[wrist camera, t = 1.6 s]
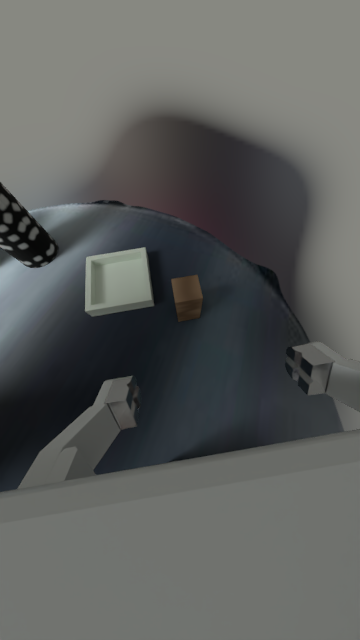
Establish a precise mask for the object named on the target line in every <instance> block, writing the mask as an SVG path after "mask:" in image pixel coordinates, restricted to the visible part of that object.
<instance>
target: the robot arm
mask: <svg viewBox="0 0 360 640" xmlns="http://www.w3.org/2000/svg"><path fill="white" fill-rule="evenodd" d="M286 354H287V355H288V356H289V357H288V358H287V359H286V361H285V367H286V370H287V372H288V374H289V375H290V377H291V378H292V379H294V380H297V381H298V386H299V387H300V388H301V389H302V390H303V391H304V392H305V393H306V394H307V395H315V394H321V393H326V394H327V395H329V396H331V397H333V398H335V399H336V400H338V401H341V402H342V403H344V404H346V405H347V406H349V407H351V408H353V409H355V410H357V411H359V412H360V362H359V361H356V360H352V359H350V360H347V359H346V358H344V357H343V356H341V355H340V354H338V353H337V352H335V351H334V350H332V349H331V348H329V347H328V346H326V345H325V344H323V343H322V342H318V341H316V342H311V343H307V344H302V345H297V346H292V347H288V348H287V350H286ZM136 382H137V381H136V378H135V376H128V377H122V378H116V379H110V380H106V381H104V383H103V385H102V387H101V389H100V391H99V393H98V396H97V398H96V400H95V402H94V404H93V406H92V407H89V408H88V409H87V410H86V411H85V412H83V413H82V414H81V415H80V416H79V417H78V418H77V419H76V420H75V421H73V422H72V423H71V424H70V425H69V426H68V427H67V428H66V429H65V430H63V431H62V432H61V433H60V434H59V435H58V436H57V437H56V438H55V439H53V440H52V441H51V442H50V443H49V444H48V445H47V446H46V447H45V448H44V449H42V450H41V451H40V452H39V454H38V456H37V457H36V459H35V461H34V462H33V464H32V466H31V467H30V469H29V470H28V472H27V474H26V475H25V477H24V479H23V480H22V482H21V484H20V485H19V487H18V489H16V490H10V491H4V492H0V640H360V429H357V430H352V431H345V432H340V433H334V434H328V435H323V436H317V437H312V438H306V439H300V440H295V441H289V442H283V443H278V444H272V445H266V446H261V447H255V448H249V449H244V450H238V451H232V452H226V453H221V454H215V455H209V456H204V457H198V458H192V459H187V460H181V461H175V462H169V463H164V464H158V465H152V466H147V467H141V468H135V469H130V470H124V471H118V472H113V473H107V474H101V475H96V474H95V473H94V471H93V470H94V468H95V467H96V465H97V464H98V462H99V461H100V459H101V458H102V457H103V455H104V454H105V452H106V451H107V449H108V448H109V446H110V445H111V444H112V442H113V441H114V439H115V438H116V436H117V435H118V433H119V432H120V430H121V429H126V428H131V427H136V426H137V425H138V419H139V412H138V408H139V407H140V406H141V392H140V389H139V387H138V386H136Z"/></svg>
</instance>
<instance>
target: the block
mask: <svg viewBox="0 0 360 640" xmlns="http://www.w3.org/2000/svg"><path fill="white" fill-rule="evenodd" d="M171 281H172V287H173V294H174V300H175V306H176V311H177V317H178V322H179V321H185V320H191V319H196V318H200V312H201V307H202V301H203V296H202V292H201V288H200V284H199V280H198V275H193V276H187V277H181V278H175V279H171Z"/></svg>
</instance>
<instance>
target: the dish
mask: <svg viewBox="0 0 360 640" xmlns="http://www.w3.org/2000/svg"><path fill="white" fill-rule="evenodd" d="M151 306H154V299H153V291H152V283H151V276H150V268H149V260H148V255H147V252H146V248H145V247H144V248H138V249H132V250H126V251H120V252H114V253H108V254H102V255H96V256H90V257H86V289H85V312H87V313H88V314H90V315H91V316H92V317H93V316H99V315H105V314H110V313H116V312H122V311H128V310H134V309H139V308H145V307H151Z"/></svg>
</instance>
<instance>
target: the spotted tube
mask: <svg viewBox="0 0 360 640" xmlns="http://www.w3.org/2000/svg"><path fill="white" fill-rule="evenodd" d="M0 247H1V248H2V249H3V250H5V251H6V252H8V253H9V254H10V255H12V256H13V257H14V258H16V259H17V260H18V261H20V262H21V263H23V264H24V265H25V266H27V267H30V268H38V267H42V266H45V265H47V264H48V263H50V262H51V261H52V260H53V259H54V258H55V257H56V255H57V253H58V245H57V243H56V242H55V240H54V239H53V238H52V237H51V236H50V235H49V234H48V233H47V232H46V231H45V230H44V229H43V228H42V226H41V225H40V224H39V223H38V222H37V221H36V220H35V219H34V218H33V217H32V216H31V215H30V214H29V212H28V211H27V210H26V209H25V208H24V207H23V206H22V205H21V204H20V203H19V202H18V201H17V200H16V199H15V197H14V196H13V195H12V194H11V193H10V192H9V191H8V190H7V189H6V188H5V187H4V186H3V185H2V184H1V182H0Z"/></svg>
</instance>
